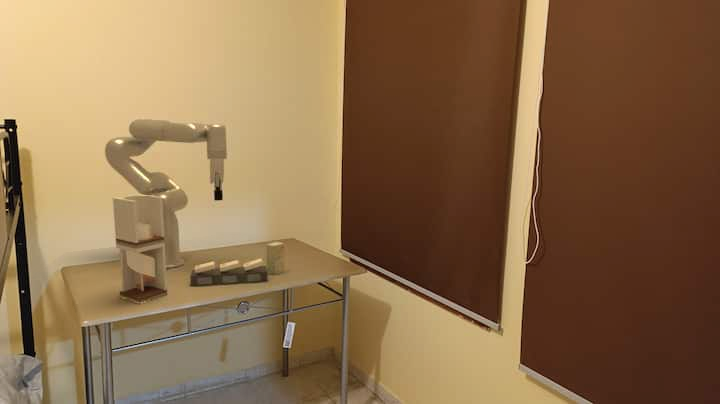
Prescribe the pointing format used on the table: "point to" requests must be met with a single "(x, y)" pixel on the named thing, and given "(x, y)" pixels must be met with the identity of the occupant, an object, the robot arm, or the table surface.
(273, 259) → the skincare box
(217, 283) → the power strip
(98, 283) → the table surface
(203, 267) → the rocker
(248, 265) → the rocker
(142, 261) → the display case
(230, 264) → the cream flat rectangular block
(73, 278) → the table surface
